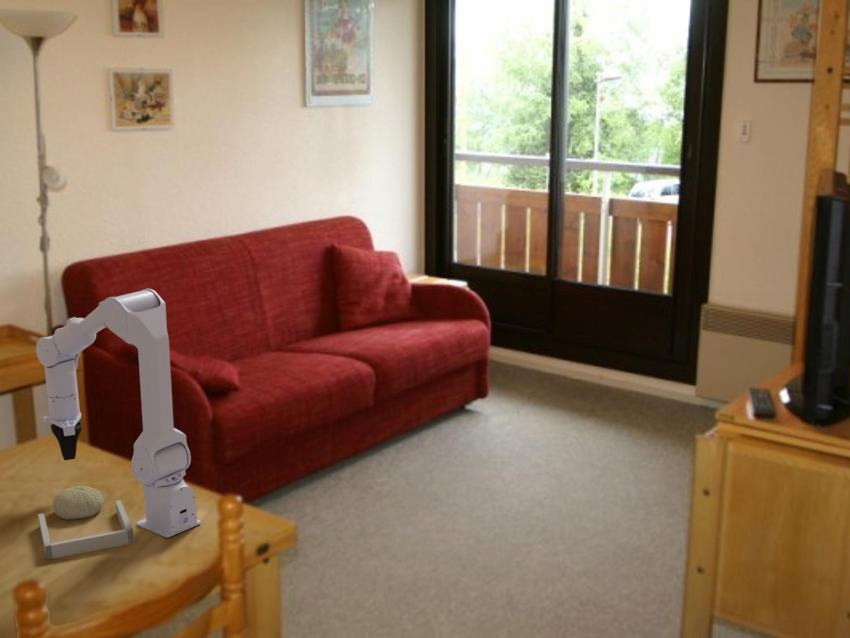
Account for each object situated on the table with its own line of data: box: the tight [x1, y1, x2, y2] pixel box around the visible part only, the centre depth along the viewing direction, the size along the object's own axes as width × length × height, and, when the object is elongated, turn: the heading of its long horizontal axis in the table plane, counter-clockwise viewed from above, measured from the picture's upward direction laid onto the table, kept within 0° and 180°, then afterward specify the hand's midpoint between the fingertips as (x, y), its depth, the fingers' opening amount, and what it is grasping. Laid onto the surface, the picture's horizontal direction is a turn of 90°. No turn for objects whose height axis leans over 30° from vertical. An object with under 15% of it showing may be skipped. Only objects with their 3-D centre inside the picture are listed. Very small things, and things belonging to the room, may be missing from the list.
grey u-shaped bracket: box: [37, 499, 135, 561], centre depth 193 cm, size 15×15×2 cm
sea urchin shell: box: [52, 485, 105, 520], centre depth 203 cm, size 9×8×8 cm
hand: (69, 458), depth 211 cm, fingers closed
